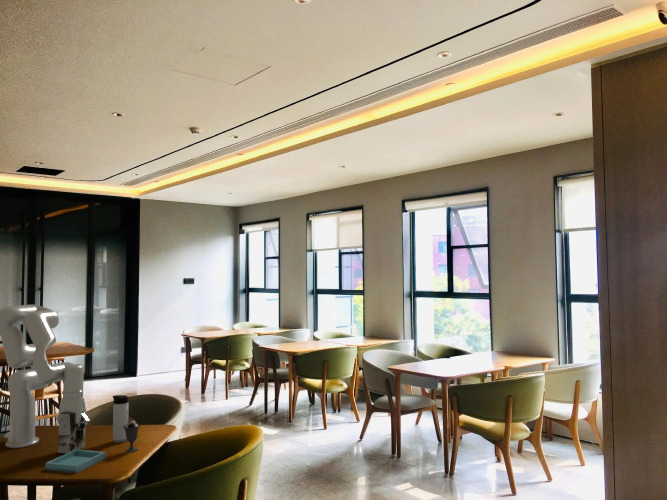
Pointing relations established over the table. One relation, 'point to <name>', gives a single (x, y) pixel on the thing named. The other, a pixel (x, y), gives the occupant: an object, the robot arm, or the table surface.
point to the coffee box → (69, 434)
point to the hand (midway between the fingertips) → (72, 437)
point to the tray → (75, 461)
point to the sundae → (131, 433)
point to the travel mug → (120, 418)
